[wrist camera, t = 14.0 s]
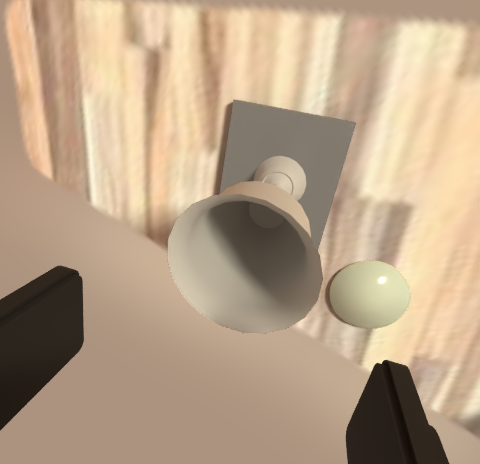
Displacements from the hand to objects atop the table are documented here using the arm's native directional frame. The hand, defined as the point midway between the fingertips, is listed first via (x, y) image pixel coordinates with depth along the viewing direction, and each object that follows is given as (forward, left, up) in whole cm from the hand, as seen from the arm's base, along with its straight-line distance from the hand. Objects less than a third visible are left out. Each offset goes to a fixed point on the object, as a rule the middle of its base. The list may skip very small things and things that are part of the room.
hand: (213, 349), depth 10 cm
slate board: (0, 0, -24) cm, 24 cm away
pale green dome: (-12, +10, -24) cm, 29 cm away
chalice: (0, 0, -23) cm, 23 cm away
